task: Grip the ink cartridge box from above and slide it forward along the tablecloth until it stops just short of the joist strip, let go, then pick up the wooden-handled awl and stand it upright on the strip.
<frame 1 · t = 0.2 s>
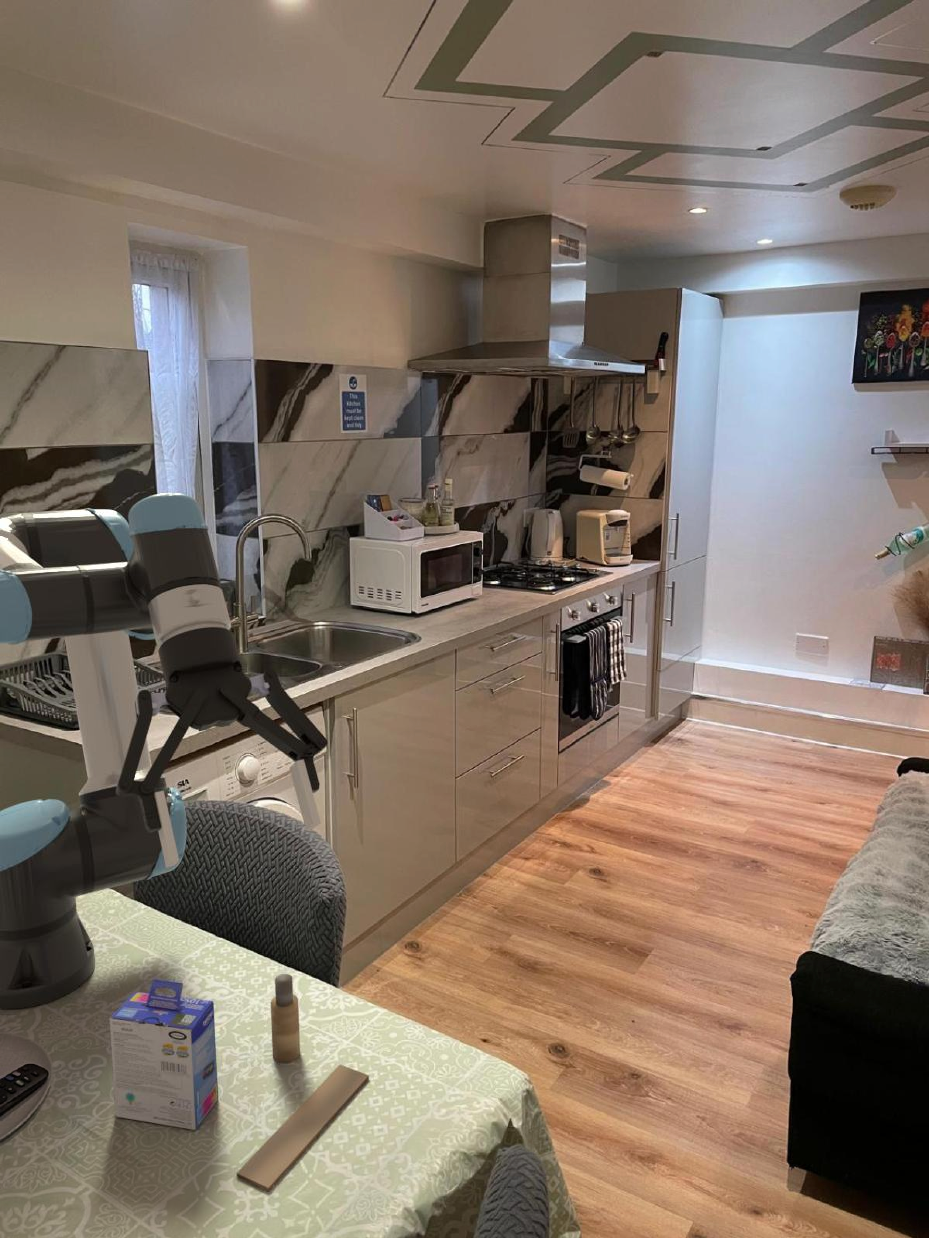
hand: (245, 845, 87), 35 cm above the table, tool tilted 35°, fingers open, 13 cm apart
ink cartridge box: (168, 1108, 102), on the table
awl: (286, 1053, 110), on the table
joist strip: (307, 1123, 99), on the table
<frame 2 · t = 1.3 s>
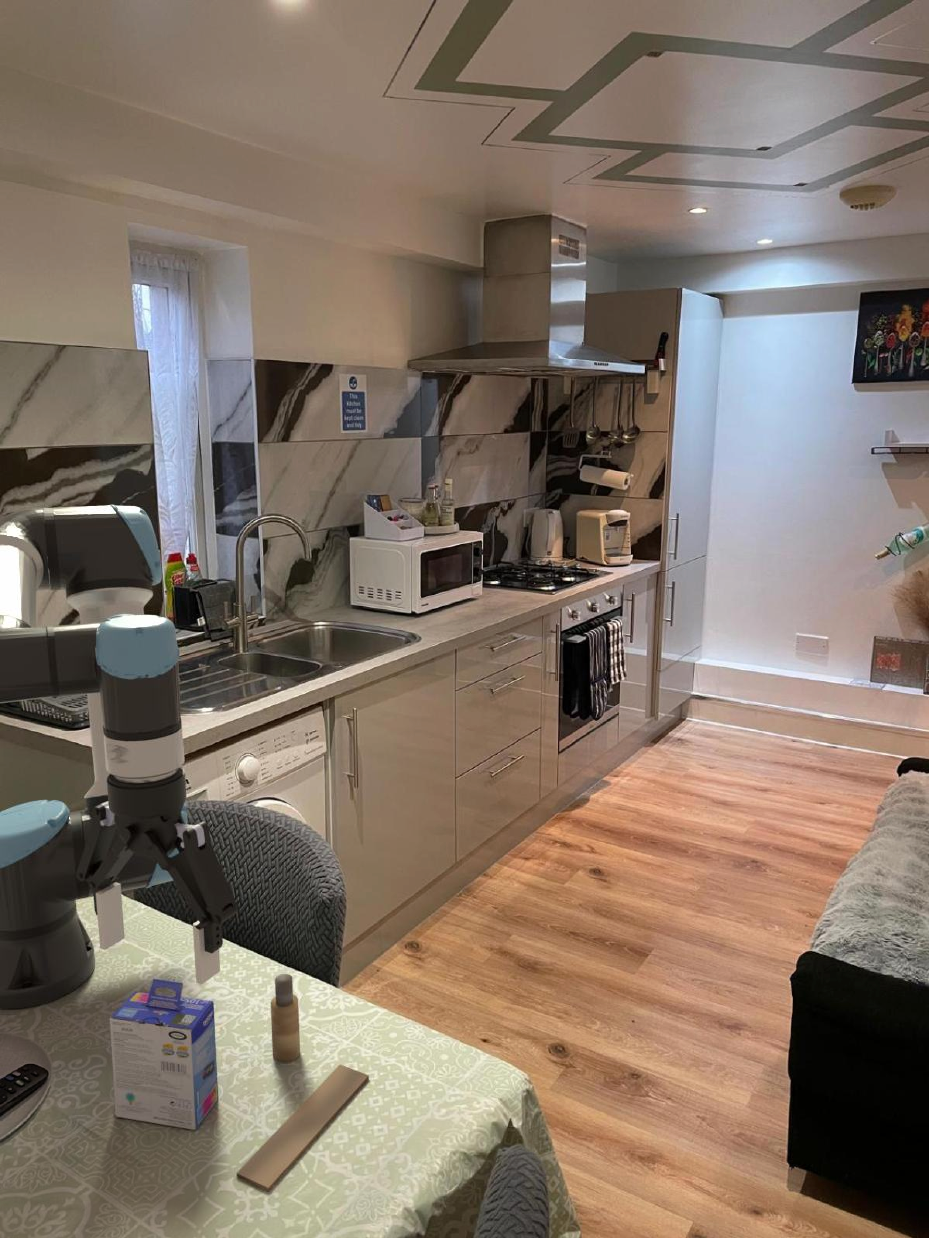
hand: (159, 959, 98), 18 cm above the table, tool pointing down, fingers open, 13 cm apart
nothing on the table moved.
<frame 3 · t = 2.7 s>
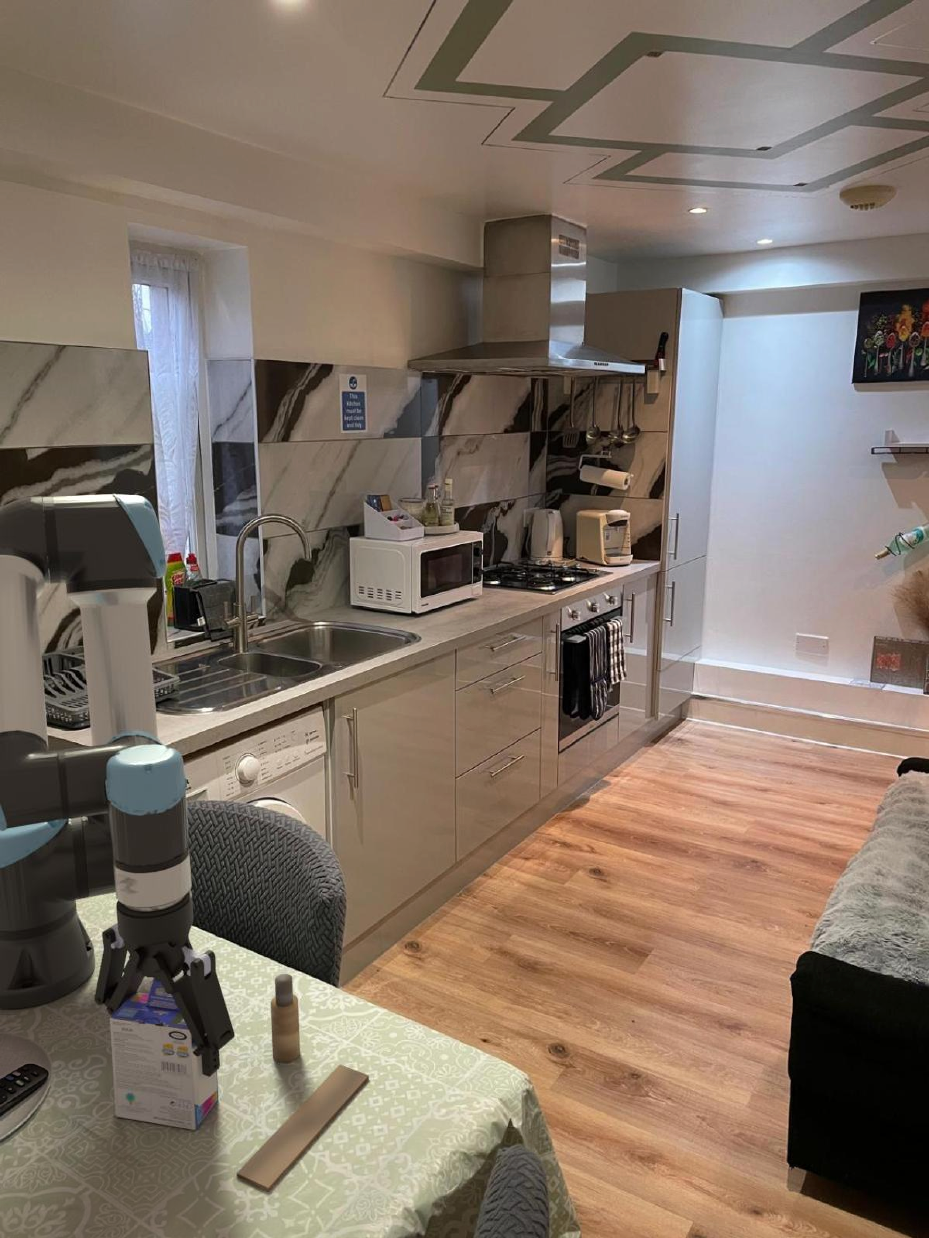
hand: (166, 1079, 101), 3 cm above the table, tool pointing down, fingers closed on ink cartridge box, 10 cm apart
ink cartridge box: (169, 1108, 102), on the table, touching gripper
everything else where it was.
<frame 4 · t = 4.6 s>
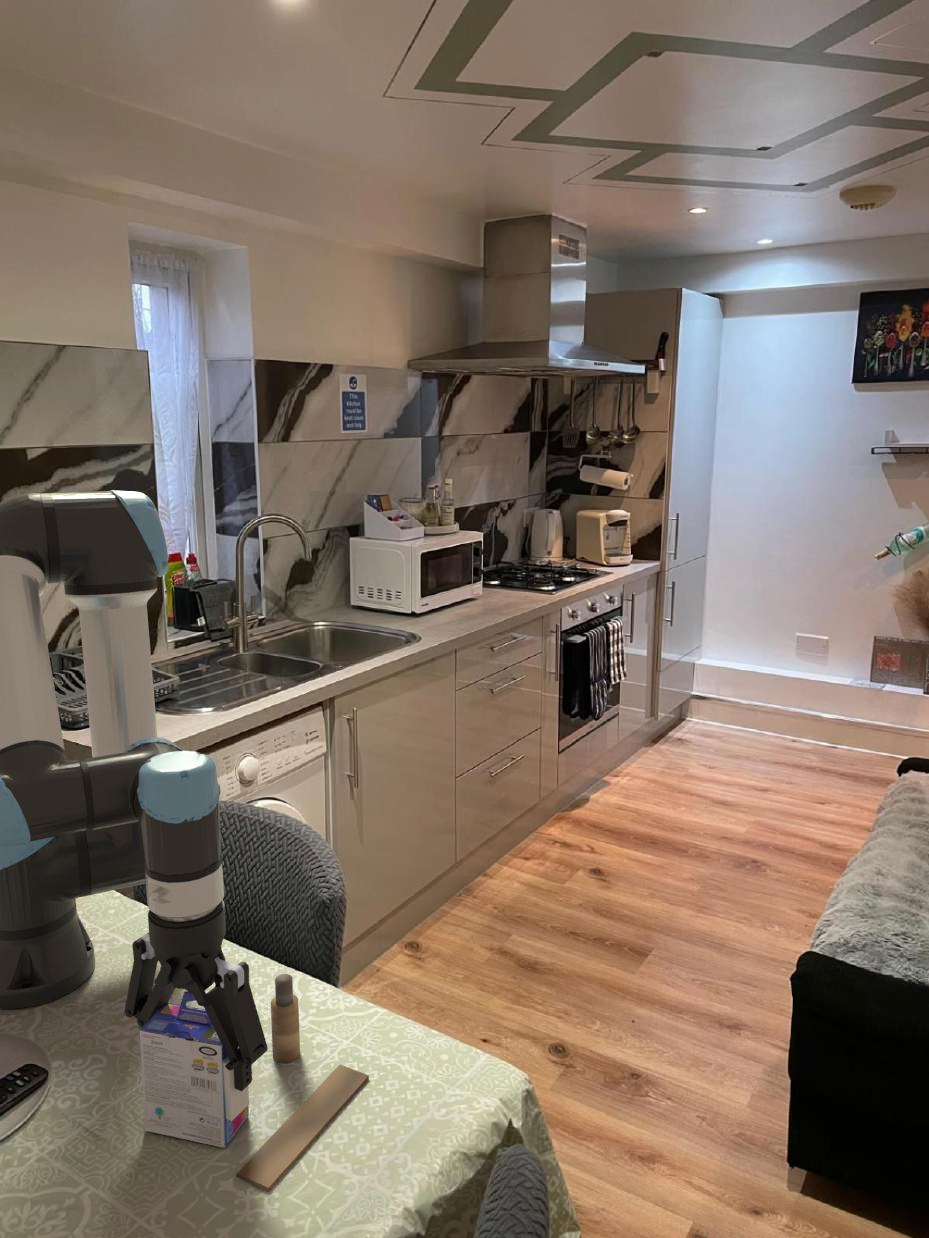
hand: (197, 1093, 99), 3 cm above the table, tool pointing down, fingers closed on ink cartridge box, 10 cm apart
ink cartridge box: (198, 1124, 99), on the table, touching gripper
everything else where it was.
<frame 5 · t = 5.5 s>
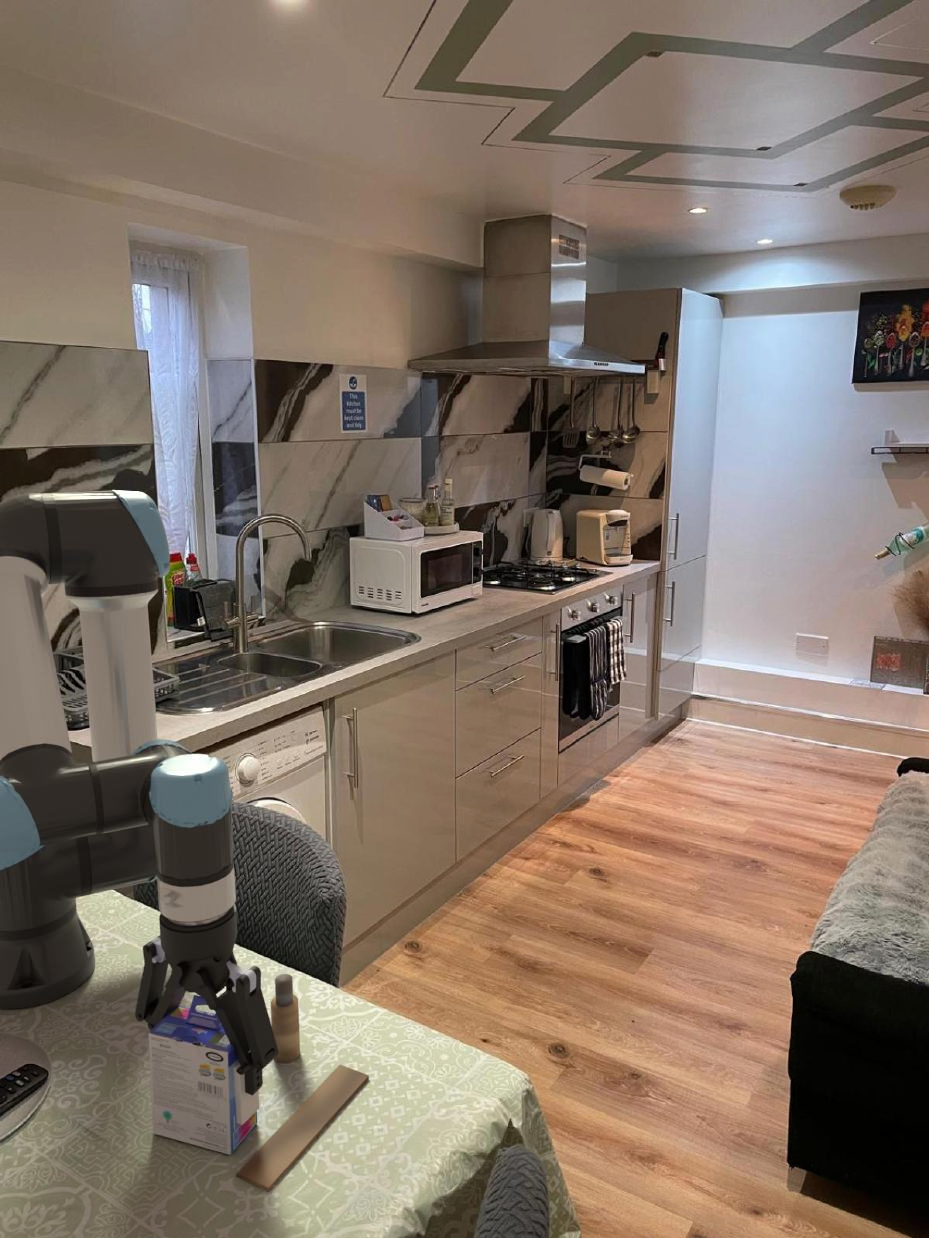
hand: (208, 1097, 98), 3 cm above the table, tool pointing down, fingers closed on ink cartridge box, 10 cm apart
ink cartridge box: (206, 1129, 99), on the table, touching gripper
everything else where it was.
when the fingers open (4 cm above the table, at t = 6.2 s): ink cartridge box moves 2 cm, point 1 cm above the table.
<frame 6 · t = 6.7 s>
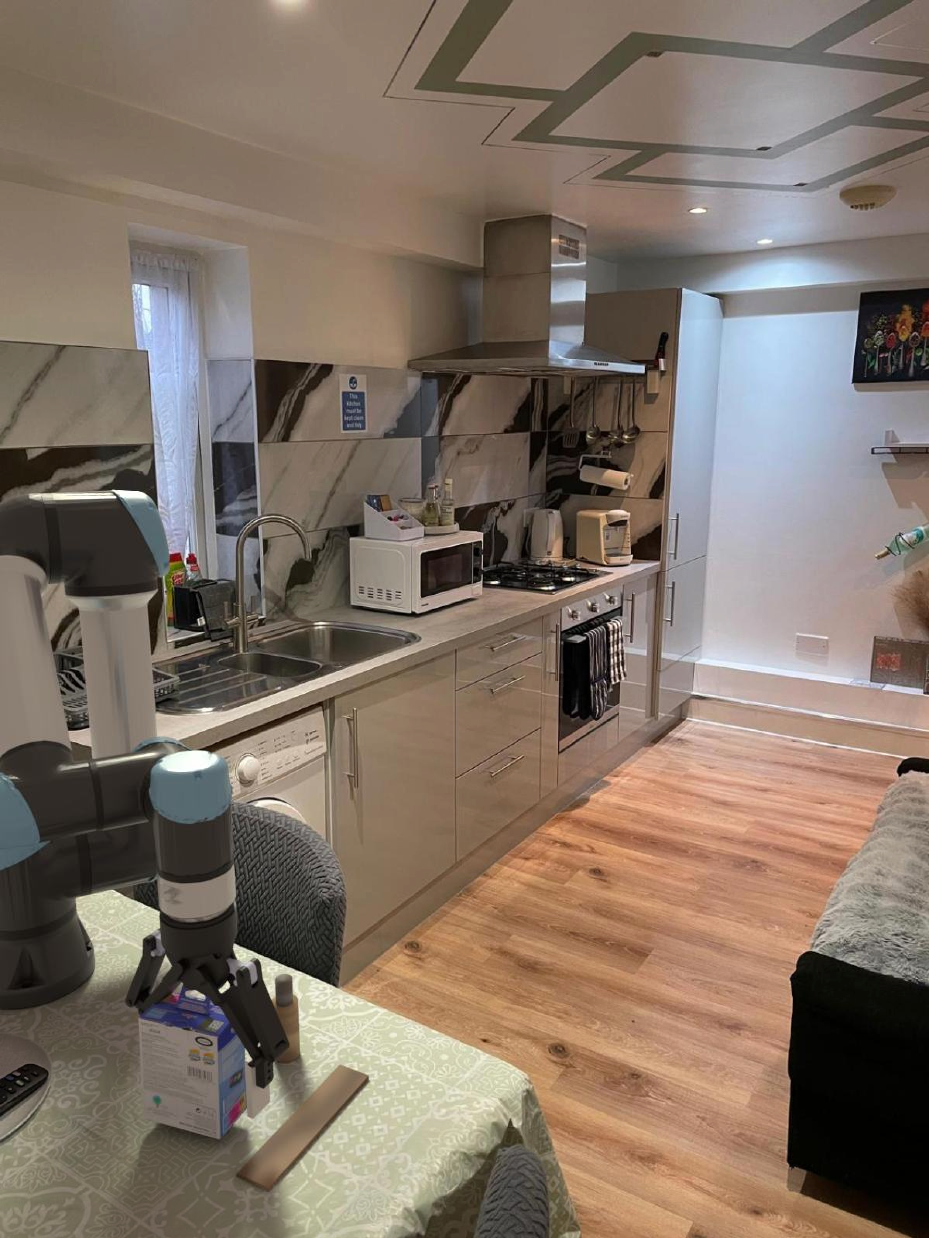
hand: (208, 1087, 98), 5 cm above the table, tool pointing down, fingers open, 13 cm apart
ink cartridge box: (196, 1114, 99), point 1 cm above the table, touching gripper
everything else where it was.
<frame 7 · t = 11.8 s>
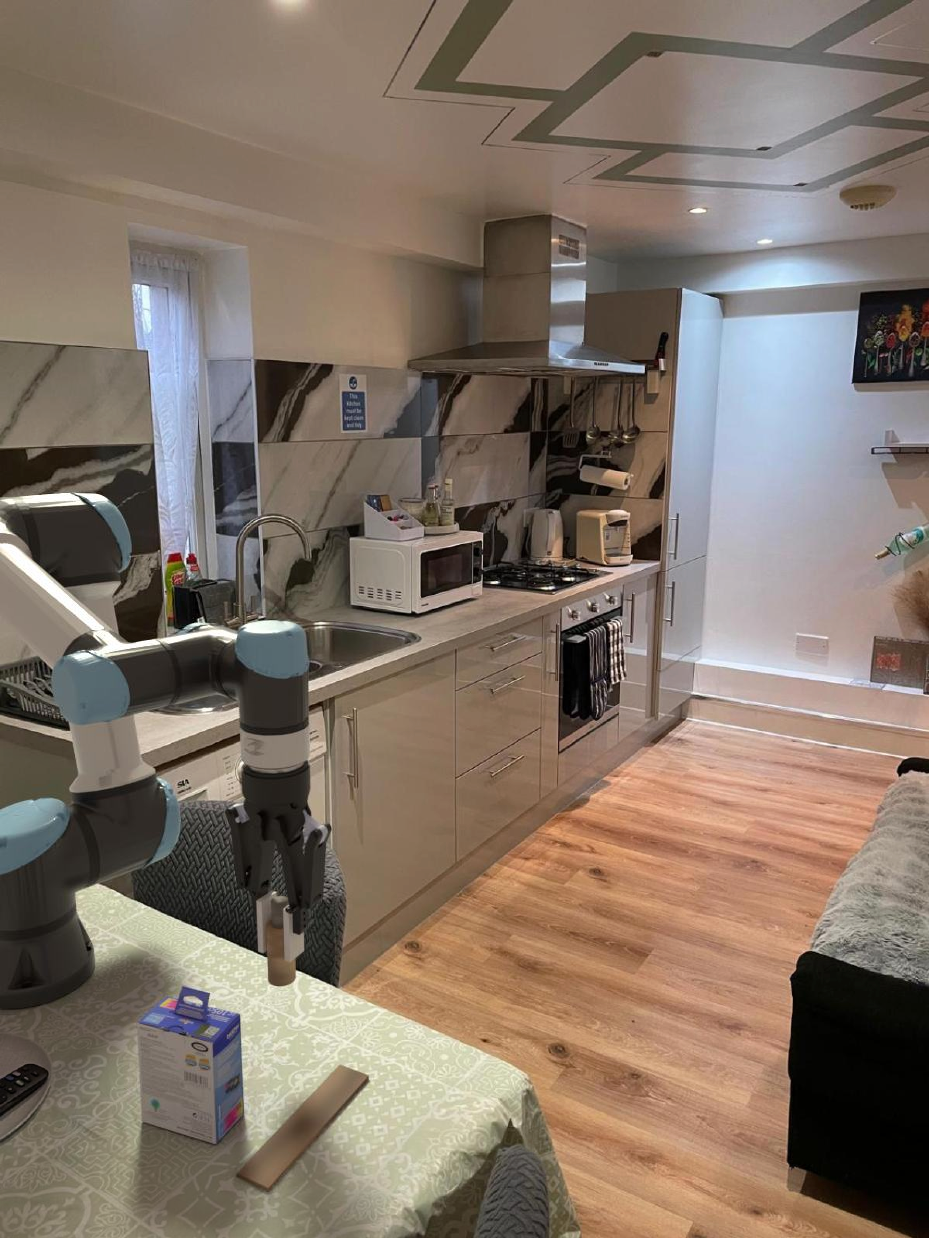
hand: (281, 950, 108), 14 cm above the table, tool pointing down, fingers closed on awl, 3 cm apart
ink cartridge box: (194, 1118, 100), on the table
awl: (281, 978, 108), point 10 cm above the table, touching gripper
when the fingers open (2 cm above the table, at t = 15.2 s): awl stays where it is, resting on joist strip.
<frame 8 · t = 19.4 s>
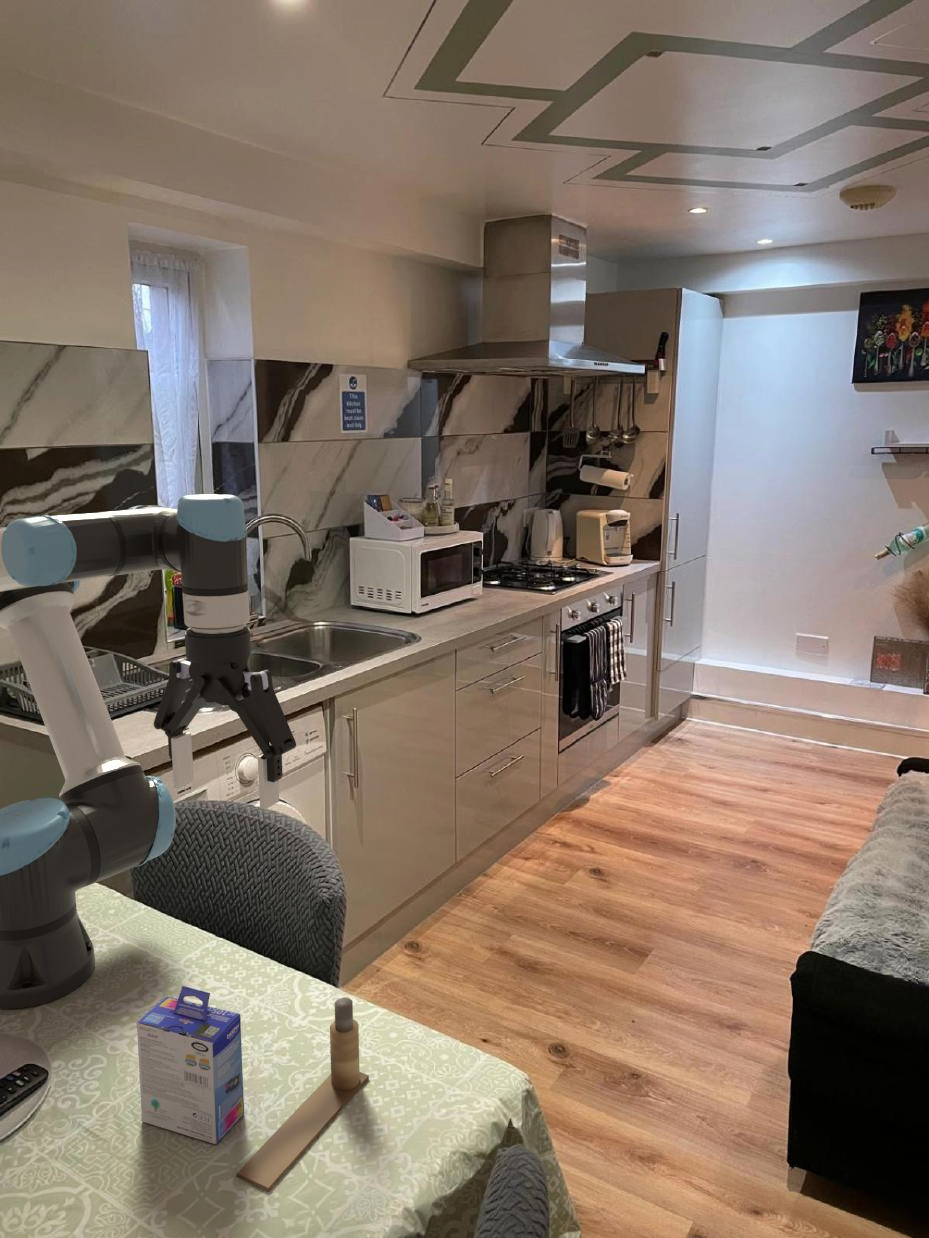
hand: (225, 794, 114), 29 cm above the table, tool pointing down, fingers open, 13 cm apart
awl: (345, 1080, 105), resting on joist strip
everything else where it was.
at the end: ink cartridge box inside the target area (3.9 cm from its centre), on the table; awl inside the target area (0.2 cm from its centre), resting on joist strip; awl tilted 0° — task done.
